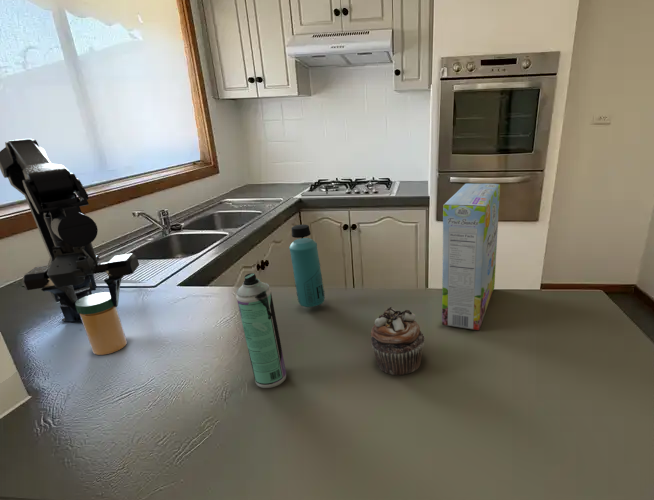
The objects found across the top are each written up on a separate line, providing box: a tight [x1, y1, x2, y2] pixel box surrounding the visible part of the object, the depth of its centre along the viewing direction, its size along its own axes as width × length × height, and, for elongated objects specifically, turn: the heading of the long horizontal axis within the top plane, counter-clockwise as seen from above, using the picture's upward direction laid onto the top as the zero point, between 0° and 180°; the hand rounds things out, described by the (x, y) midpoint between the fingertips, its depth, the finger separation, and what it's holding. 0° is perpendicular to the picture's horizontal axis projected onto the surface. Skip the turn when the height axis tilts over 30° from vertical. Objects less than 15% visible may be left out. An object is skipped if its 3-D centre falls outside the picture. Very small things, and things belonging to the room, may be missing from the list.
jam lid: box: [75, 291, 114, 314], centre depth 86 cm, size 7×7×2 cm
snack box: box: [441, 183, 501, 331], centre depth 90 cm, size 22×9×26 cm, turn 158°
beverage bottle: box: [288, 223, 326, 308], centre depth 97 cm, size 6×7×20 cm
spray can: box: [235, 272, 287, 389], centre depth 71 cm, size 6×6×20 cm
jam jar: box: [80, 306, 128, 356], centre depth 88 cm, size 6×6×10 cm
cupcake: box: [370, 306, 426, 376], centre depth 75 cm, size 10×10×10 cm
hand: (97, 309), depth 87 cm, fingers closed on jam lid, 7 cm apart
